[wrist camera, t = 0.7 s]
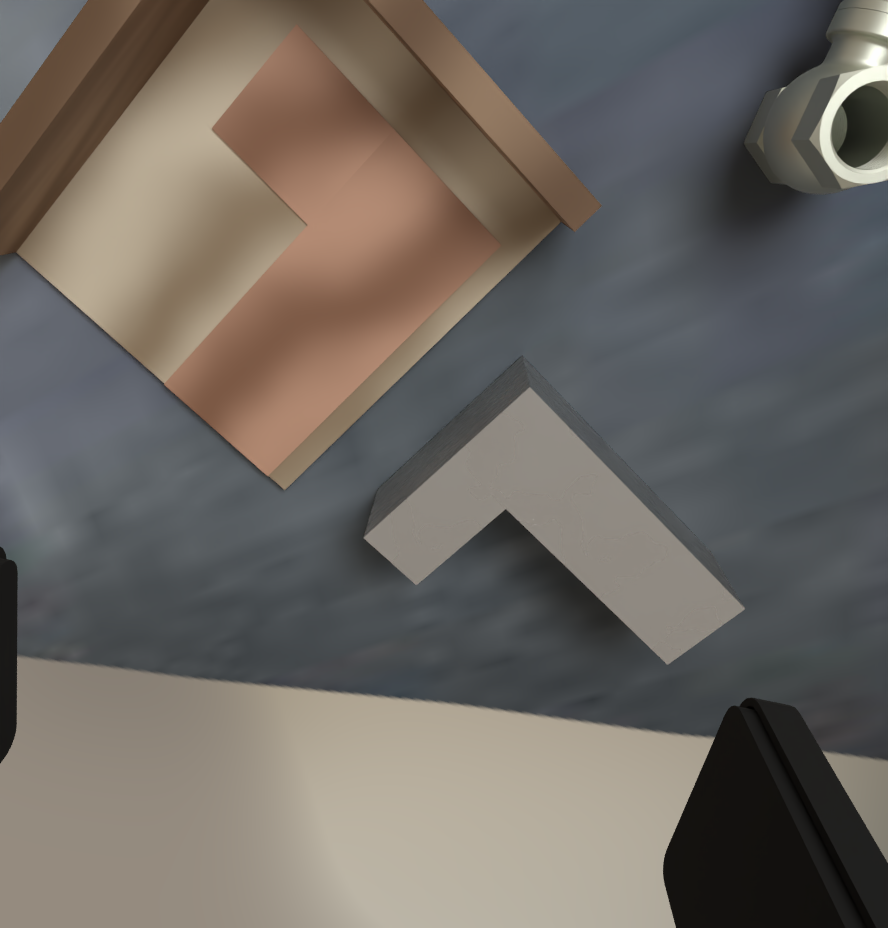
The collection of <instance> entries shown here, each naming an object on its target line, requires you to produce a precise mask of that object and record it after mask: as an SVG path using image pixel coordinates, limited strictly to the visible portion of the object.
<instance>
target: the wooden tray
mask: <svg viewBox="0 0 888 928" xmlns="http://www.w3.org/2000/svg"><path fill="white" fill-rule="evenodd" d="M560 222H561V221H560V220H559V219H558V218H557V217H556V215H555V214H554V213H553V212H552V211H551V210H550V209H549V208H548V206H547V205H546V204H545V203H544V202H543V201H542V200H541V199H540V198H539V196H538V195H537V194H536V193H535V192H534V191H533V190H532V189H531V187H530V186H529V185H528V184H527V183H526V182H525V181H524V180H523V178H522V177H521V176H520V175H519V174H518V173H517V172H516V171H515V170H514V168H513V167H512V166H511V165H510V164H509V163H508V162H507V161H506V159H505V158H504V157H503V156H502V155H501V154H500V153H499V152H498V150H497V149H496V148H495V147H494V146H493V145H492V144H491V143H490V142H489V140H488V139H487V138H486V137H485V136H484V135H483V134H482V133H481V131H480V130H479V129H478V128H477V127H476V126H475V125H474V124H473V123H472V121H471V120H470V119H469V118H468V117H467V116H466V115H465V114H464V112H463V111H462V110H461V109H460V108H459V107H458V106H457V105H456V103H455V102H454V101H453V100H452V99H451V98H450V97H449V96H448V95H447V93H446V92H445V91H444V90H443V89H442V88H441V87H440V86H439V84H438V83H437V82H436V81H435V80H434V79H433V78H432V77H431V75H430V74H429V73H428V72H427V71H426V70H425V69H424V68H423V67H422V65H421V64H420V63H419V62H418V61H417V60H416V59H415V58H414V56H413V55H412V54H411V53H410V52H409V51H408V50H407V49H406V48H405V46H404V45H403V44H402V43H401V42H400V41H399V40H398V39H397V37H396V36H395V35H394V34H393V33H392V32H391V31H390V30H389V28H388V27H387V26H386V25H385V24H384V23H383V22H382V21H381V20H380V18H379V17H378V16H377V15H376V14H375V13H374V12H373V11H372V9H371V8H370V7H369V6H368V5H367V4H366V3H365V2H364V0H209V2H208V3H207V4H206V6H205V7H204V8H203V10H202V11H201V12H200V14H199V15H198V16H197V17H196V19H195V20H194V21H193V23H192V24H191V25H190V27H189V28H188V29H187V30H186V32H185V33H184V34H183V36H182V37H181V38H180V40H179V41H178V42H177V43H176V45H175V46H174V47H173V49H172V50H171V51H170V53H169V54H168V55H167V56H166V58H165V59H164V60H163V62H162V63H161V64H160V66H159V67H158V68H157V70H156V71H155V72H154V73H153V75H152V76H151V77H150V79H149V80H148V81H147V83H146V84H145V85H144V86H143V88H142V89H141V90H140V92H139V93H138V94H137V96H136V97H135V98H134V99H133V101H132V102H131V103H130V105H129V106H128V107H127V109H126V110H125V111H124V112H123V114H122V115H121V116H120V118H119V119H118V120H117V122H116V123H115V124H114V126H113V127H112V128H111V129H110V131H109V132H108V133H107V135H106V136H105V137H104V139H103V140H102V141H101V142H100V144H99V145H98V146H97V148H96V149H95V150H94V152H93V153H92V154H91V155H90V157H89V158H88V159H87V161H86V162H85V163H84V165H83V166H82V167H81V168H80V170H79V171H78V172H77V174H76V175H75V176H74V178H73V179H72V180H71V182H70V183H69V184H68V185H67V187H66V188H65V189H64V191H63V192H62V193H61V195H60V196H59V197H58V198H57V200H56V201H55V202H54V204H53V205H52V206H51V208H50V209H49V210H48V211H47V213H46V214H45V215H44V217H43V218H42V219H41V221H40V222H39V223H38V224H37V226H36V227H35V228H34V230H33V231H32V232H31V234H30V235H29V236H28V238H27V239H26V240H25V241H24V243H23V244H22V245H21V247H20V248H19V249H18V251H17V252H16V253H18V254H19V255H20V256H21V257H22V258H23V259H24V260H26V261H27V262H28V263H29V264H30V265H31V266H32V267H33V268H35V269H36V270H37V271H38V272H39V273H40V274H41V275H42V276H44V277H45V278H46V279H47V280H48V281H49V282H50V283H51V284H53V285H54V286H55V287H56V288H57V289H58V290H59V291H61V292H62V293H63V294H64V295H65V296H66V297H67V298H68V299H70V300H71V301H72V302H73V303H74V304H75V305H76V306H77V307H79V308H80V309H81V310H82V311H83V312H84V313H85V314H86V315H88V316H89V317H90V318H91V319H92V320H93V321H94V322H96V323H97V324H98V325H99V326H100V327H101V328H102V329H103V330H105V331H106V332H107V333H108V334H109V335H110V336H111V337H112V338H114V339H115V340H116V341H117V342H118V343H119V344H120V345H122V346H123V347H124V348H125V349H126V350H127V351H128V352H129V353H131V354H132V355H133V356H134V357H135V358H136V359H137V360H138V361H140V362H141V363H142V364H143V365H144V366H145V367H146V368H147V369H149V370H150V371H151V372H152V373H153V374H154V375H155V376H157V377H158V378H159V379H160V380H161V381H162V382H163V383H164V385H165V386H166V387H167V388H169V389H170V390H171V391H172V392H173V393H174V394H175V395H176V396H178V397H179V398H180V399H181V400H182V401H183V402H184V403H185V404H187V405H188V406H189V407H190V408H191V409H192V410H193V411H195V412H196V413H197V414H198V415H199V416H200V417H201V418H202V419H204V420H205V421H206V422H207V423H208V424H209V425H210V426H211V427H213V428H214V429H215V430H216V431H217V432H218V433H219V434H220V435H222V436H223V437H224V438H225V439H226V440H227V441H228V442H230V443H231V444H232V445H233V446H234V447H235V448H236V449H237V450H239V451H240V452H241V453H242V454H243V455H244V456H245V457H246V458H248V459H249V460H250V461H251V462H252V463H253V464H254V465H256V466H257V467H258V468H259V469H260V470H261V471H262V472H263V473H265V474H266V475H267V476H269V477H271V478H272V479H273V480H274V481H275V482H276V483H277V484H278V485H280V486H281V487H282V488H283V489H284V490H285V489H286V488H287V487H288V486H289V485H291V484H292V483H293V482H294V481H295V480H296V479H297V478H298V477H299V476H300V475H301V474H302V473H303V472H304V471H305V470H306V469H307V468H308V467H309V466H310V465H311V464H312V463H313V462H314V461H315V460H316V459H317V458H318V457H319V456H320V455H321V454H322V453H323V452H324V451H326V450H327V449H328V448H329V447H330V446H331V445H332V444H333V443H334V442H335V441H336V440H337V439H338V438H339V437H340V436H341V435H342V434H343V433H344V432H345V431H346V430H347V429H348V428H349V427H350V426H351V425H352V424H353V423H354V422H355V421H356V420H357V419H358V418H360V417H361V416H362V415H363V414H364V413H365V412H366V411H367V410H368V409H369V408H370V407H371V406H372V405H373V404H374V403H375V402H376V401H377V400H378V399H379V398H380V397H381V396H382V395H383V394H384V393H385V392H386V391H387V390H388V389H389V388H390V387H391V386H392V385H393V384H395V383H396V382H397V381H398V380H399V379H400V378H401V377H402V376H403V375H404V374H405V373H406V372H407V371H408V370H409V369H410V368H411V367H412V366H413V365H414V364H415V363H416V362H417V361H418V360H419V359H420V358H421V357H422V356H423V355H424V354H425V353H426V352H427V351H428V350H430V349H431V348H432V347H433V346H434V345H435V344H436V343H437V342H438V341H439V340H440V339H441V338H442V337H443V336H444V335H445V334H446V333H447V332H448V331H449V330H450V329H451V328H452V327H453V326H454V325H455V324H456V323H457V322H458V321H459V320H460V319H461V318H462V317H463V316H465V315H466V314H467V313H468V312H469V311H470V310H471V309H472V308H473V307H474V306H475V305H476V304H477V303H478V302H479V301H480V300H481V299H482V298H483V297H484V296H485V295H486V294H487V293H488V292H489V291H490V290H491V289H492V288H493V287H494V286H495V285H496V284H497V283H499V282H500V281H501V280H502V279H503V278H504V277H505V276H506V275H507V274H508V273H509V272H510V271H511V270H512V269H513V268H514V267H515V266H516V265H517V264H518V263H519V262H520V261H521V260H522V259H523V258H524V257H525V256H526V255H527V254H528V253H529V252H530V251H531V250H532V249H534V248H535V247H536V246H537V245H538V244H539V243H540V242H541V241H542V240H543V239H544V238H545V237H546V236H547V235H548V234H549V233H550V232H551V231H552V230H553V229H554V228H555V227H556V226H557V225H558V224H559V223H560Z"/></svg>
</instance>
